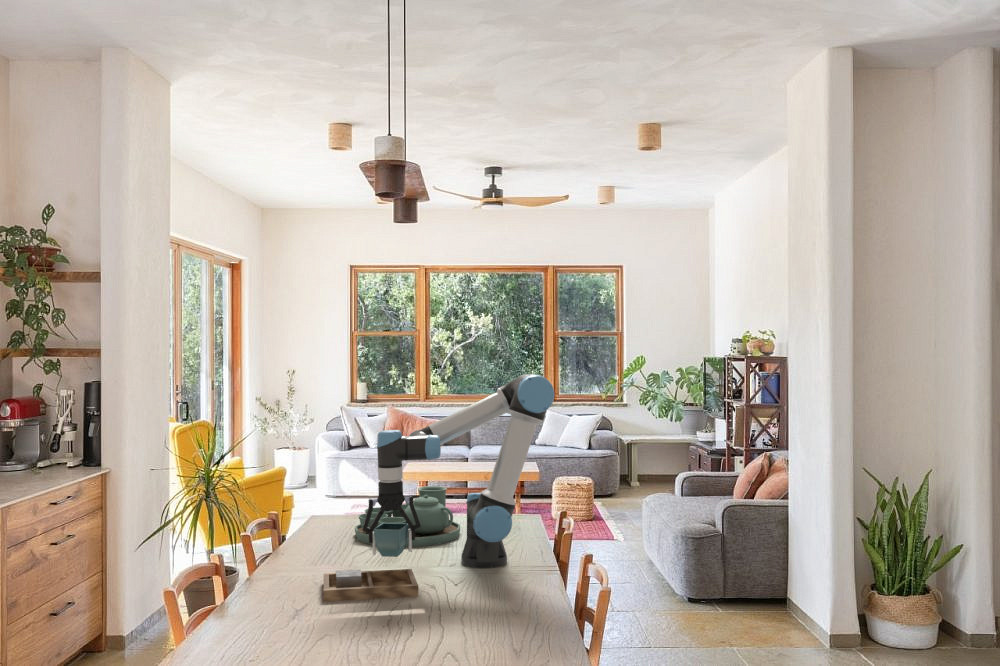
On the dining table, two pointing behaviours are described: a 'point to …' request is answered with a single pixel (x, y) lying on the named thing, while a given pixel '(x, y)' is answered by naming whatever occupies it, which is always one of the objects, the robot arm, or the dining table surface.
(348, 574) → the grey metal block
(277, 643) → the dining table surface
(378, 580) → the wooden divided tray
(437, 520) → the tea set
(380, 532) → the flower pot
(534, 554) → the dining table surface
